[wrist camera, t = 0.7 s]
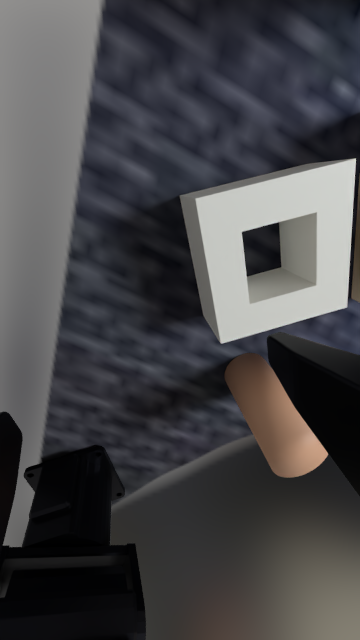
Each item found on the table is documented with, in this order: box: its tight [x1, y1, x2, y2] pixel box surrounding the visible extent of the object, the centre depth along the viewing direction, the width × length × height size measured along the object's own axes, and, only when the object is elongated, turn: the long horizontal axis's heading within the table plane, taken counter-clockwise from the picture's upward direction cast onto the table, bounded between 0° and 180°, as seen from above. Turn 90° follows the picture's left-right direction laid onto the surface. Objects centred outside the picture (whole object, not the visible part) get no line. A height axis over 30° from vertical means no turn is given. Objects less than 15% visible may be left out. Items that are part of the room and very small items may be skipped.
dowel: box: [224, 353, 328, 477], centre depth 20 cm, size 4×4×8 cm
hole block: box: [180, 158, 356, 344], centre depth 17 cm, size 8×8×4 cm
